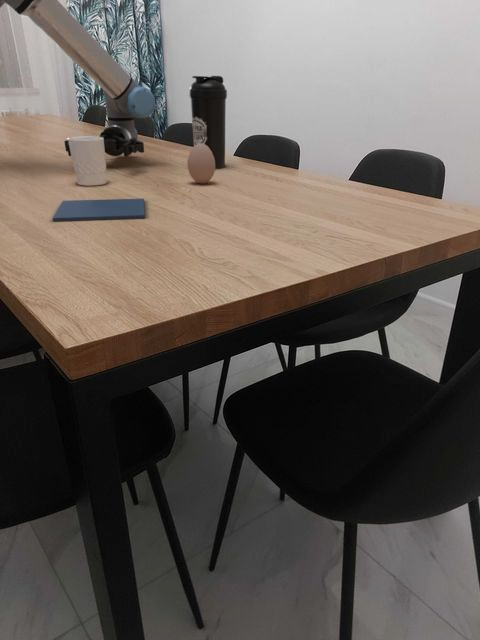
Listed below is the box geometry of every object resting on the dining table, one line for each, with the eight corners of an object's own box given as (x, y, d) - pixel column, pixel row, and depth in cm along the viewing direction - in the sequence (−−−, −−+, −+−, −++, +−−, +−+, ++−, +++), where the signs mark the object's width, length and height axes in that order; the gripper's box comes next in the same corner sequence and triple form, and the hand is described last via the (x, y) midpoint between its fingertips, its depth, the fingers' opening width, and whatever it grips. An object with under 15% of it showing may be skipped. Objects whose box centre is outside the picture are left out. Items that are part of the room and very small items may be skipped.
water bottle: (185, 165, 145) (180, 75, 134) (213, 162, 151) (211, 75, 140) (206, 170, 138) (203, 75, 127) (235, 167, 144) (234, 76, 133)
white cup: (110, 180, 124) (105, 136, 119) (107, 186, 117) (101, 140, 112) (77, 180, 123) (70, 136, 118) (72, 186, 116) (65, 140, 111)
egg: (199, 179, 126) (197, 140, 122) (221, 182, 123) (220, 143, 119) (183, 184, 121) (180, 143, 117) (205, 187, 118) (203, 145, 114)
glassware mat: (53, 221, 89) (52, 218, 89) (63, 203, 101) (62, 200, 101) (145, 218, 92) (144, 214, 92) (144, 201, 104) (144, 198, 104)
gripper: (160, 155, 145) (149, 167, 126) (73, 153, 144) (48, 166, 125) (158, 126, 141) (146, 134, 123) (68, 125, 140) (42, 133, 121)
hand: (97, 150), depth 124 cm, fingers open, 13 cm apart
